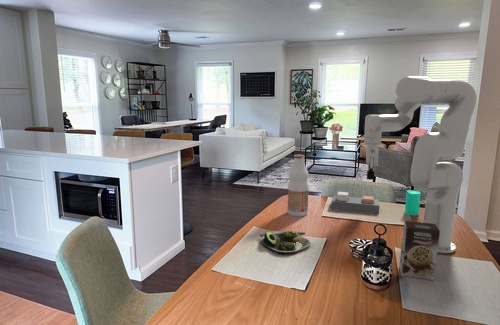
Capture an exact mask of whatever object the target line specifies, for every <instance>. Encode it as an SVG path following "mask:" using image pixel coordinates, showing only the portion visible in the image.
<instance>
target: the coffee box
mask: <svg viewBox="0 0 500 325" xmlns="http://www.w3.org/2000/svg"><path fill="white" fill-rule="evenodd" d="M439 235H440V230H439V229H438V227H437V226H436V224H431V223H423V221H422V222H421V221H411V220H410V221H409V220H404V223H403V231H402V239H401V250H400V255H399V256H400V258H399V266H398V267H399V271H400V274H401V276H402V277H409V278H413V277H414V279H415V278H416V279H420V278H421V279H422V280H428V281H434V280H435V272H436V266H437V265H436V264H437V256H438V253H437V250H438V242H439Z"/></svg>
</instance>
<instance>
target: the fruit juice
mask: <svg viewBox="0 0 500 325" xmlns="http://www.w3.org/2000/svg"><path fill="white" fill-rule="evenodd" d="M293 159H294V160H293V163H292V166H291V168H290V169H289V171H288V178H289V180H288V185H287V214H288V215H289V216H292V217H305V216H307V215H308V212H309V211H308V210H309V209H308V208H309V182H308V179H309V176H310V175H309V171H308V168H307V167H306V163H305V154H294V155H293Z"/></svg>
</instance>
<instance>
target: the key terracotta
mask: <svg viewBox="0 0 500 325" xmlns="http://www.w3.org/2000/svg"><path fill="white" fill-rule="evenodd" d="M362 198H363V202H362V203H371V204H374V199H375V198H374V196H370V195H369V196H367V195H362Z"/></svg>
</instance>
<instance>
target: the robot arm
mask: <svg viewBox="0 0 500 325" xmlns="http://www.w3.org/2000/svg"><path fill="white" fill-rule="evenodd" d="M395 94H396V96H397V97H396V98H395V100H394V106H395V108H396V110H397V111H398V112H397V113H396V114H367V115H366V116H365V120H364V135H363V136H364V137H363V138H364V139H363V145H366V149H365V150H366V151H365V154H366V155H365V157H366V158H365V162H366V166H367V170H366V180H375V166H376V167H378V166H379V146H381V145H382V132H383V133H384V132H385V133H386V132H398V131H399V132H400V131H401V130H403V129H404V128H405V127H406V126H408V125H409V124H410V123H411V122H412V120H413V118H414V112H415V111H416V110H417V109H418V108H420V106H422V105H425V106H445V105H447V106H448V108H447V109H446V111H444V113H443V115H442V116H441V119H440V123H439V128H438V131H437V132H426V133H424V134H422V135H421V136H419V138H418V139H417V141H416V143H415V145H414V150H413V155H412V162H411V167H410V173H409V174H410V176H409V178H410V183H411V185H412V187H413V188H414V189H416V190H417V191H422V192H423V191H428V193H427V194H426V198H425V204H424V215H423V221H422V223H431V224H436V226H437V227H438V229H439V230H440V235H439V242H438V250H437V254H452V253H454V252H455V251H456V250H457V249H456V248H457V247H456V245H455V243H453V242H452V241H453V240H452V239H453V232H454V222H455V216H456V208H457V201H458V196H459V192H460V189H461V186H462V183H463V180H464V172H463V169H462V168H461V167H460V165H458V164H457V163H454V162H451V161H445V160H455V159H458V158H460V157H461V156H462V155H463V154H464V150H465V147H466V143H467V137H468V134H469V129H470V123H471V119H472V117H473V113H474V112H475V108H476V104H477V93H476V89H475V88H474V87H473V86H472V85H471V84H470V83H469V82H467V81H464V80H460V79H433V78H432V77H430V76H424V75H423V76H420V75H417V76H415V75H413V76H412V75H409V76H408V75H407V76H404V77H402V78H400V80H399V81H398V82H397V83H396V87H395Z"/></svg>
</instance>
